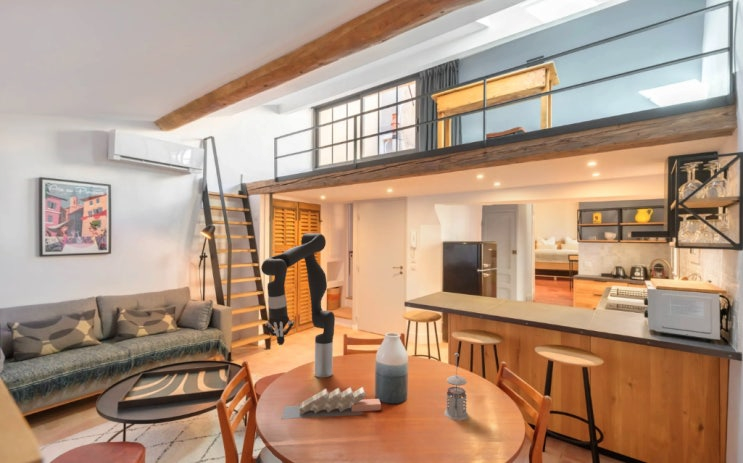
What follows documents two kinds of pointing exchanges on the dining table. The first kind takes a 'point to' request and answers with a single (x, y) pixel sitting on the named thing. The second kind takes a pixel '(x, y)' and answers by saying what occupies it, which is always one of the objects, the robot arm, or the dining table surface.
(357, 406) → the end domino
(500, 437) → the dining table surface
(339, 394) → the domino
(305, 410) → the domino
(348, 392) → the domino
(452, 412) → the french press
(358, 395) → the domino
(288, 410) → the domino board
